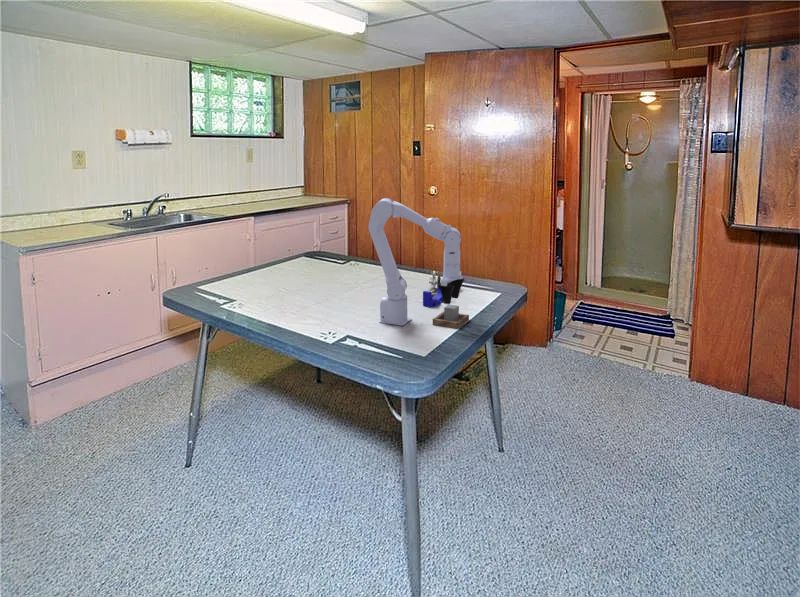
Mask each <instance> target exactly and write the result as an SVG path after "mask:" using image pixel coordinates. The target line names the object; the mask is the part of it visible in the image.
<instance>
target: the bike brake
mask: <svg viewBox="0 0 800 597" xmlns="http://www.w3.org/2000/svg"><path fill="white" fill-rule="evenodd" d="M441 280H442V278H441V275H440V274H438V276H437V279H436V274H435V272H432V279H431V280H429V281H428V284H430V286H429V287H428V289H427V291H428V292H431V294H432V298H434V297H435V295H436V293H437V292H435V293H433V292H432V291H433V290H435V289H436V288H437V290H438V284H439V283H441Z"/></svg>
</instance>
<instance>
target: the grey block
mask: <svg viewBox="0 0 800 597" xmlns="http://www.w3.org/2000/svg"><path fill="white" fill-rule="evenodd" d="M443 308H444V309H443V311H444V319H443V320H447V321H454V322H458V321H459V314H460V311H459V310H460V305H454V304H446V306H444V307H443Z"/></svg>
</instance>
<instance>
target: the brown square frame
mask: <svg viewBox="0 0 800 597" xmlns="http://www.w3.org/2000/svg"><path fill="white" fill-rule="evenodd" d="M469 320H470V315H469V314H465V313H464V314H463V313H459V321H458V322H454V321H447V320H444V310H443V311H442V312H440V313H439V314H438V315H436V316H435V317H433V318H432V325H434V326H439V327H446V328H453V329H459V330H460V329H461V328H462V327H463V326H464V325H465V324H466V323H468V322H469Z"/></svg>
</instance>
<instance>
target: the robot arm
mask: <svg viewBox="0 0 800 597" xmlns="http://www.w3.org/2000/svg"><path fill="white" fill-rule="evenodd" d="M390 217H392V218H394V219H395V218H403V219H405V220H408V221H409V222H412V223H413V224H416V225H418V226H420V227H421V228H423V231H424V233H425V234H427V235H429V236H430V237H433V238H435V239H436V240H439V241H443V243H444V250H443V269H442V270H443V273H442V274H443V275H442V278H441V279H440V283H439V284H438V287H439V289H440V291H441V293H442V297H443V301H442V302H443V304H445V305H451V302H452V299H459V296H460V291H461V288H462V287H463V286H462V285H463V283H464V281H465V278H464V276H463V275H462V271H461V241H462V239H461V236H462V235H461V232H460V231H459V230H458V229H457V228H456V227H452V225H451V224H448V225H447V224H446V223H443V222H442V221H441V220H440V218H438V217H435V218H434V217H429V218H426V217H425V216H424V215H421V214H420V213H418V212H416V211H415V210H413V209H412V208H410V207H408V206H406V205H404V204H402V203H400V202H398V201H397V200H396V201H395V200H392V199H391V198H389V197H384V198H382V199H380V200H379V201H378V202H376V204H374V206H373V207H372V209H371V212H370V217H369V222H368V231H369V234H370V236H371V240H372V244H373V245H374V249H375V252H376V253H377V257H378V259H379V261H380V262H379V263H380V265H381V268H382V270H383V273H384V276H385V283H386V286H387V287H386V289H387V290H386V294H387V295H386V296H383V297H382V298H381V299H380V303H379V310H380V313H379V314H380V317H379V319H380V320H379V323H382V324H389V325H395V326H404V325H406V324H407V323H409V322H410V321H412V319H413V318H412V317H408V295H407V294H406V293H405V292H406V290H407V287H408V285H407V284H408V283H407V281H406V280H405V278H403V276H402V274H401V272H400V271H399V269H398V267H397V263H396V260H395V257H394V255H393V252H392V249H391V247H390V244H389V240H388V239H387V235H386V232H385V230H384V227H385V226H386V223H387V220H388V219H389V218H390Z"/></svg>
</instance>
